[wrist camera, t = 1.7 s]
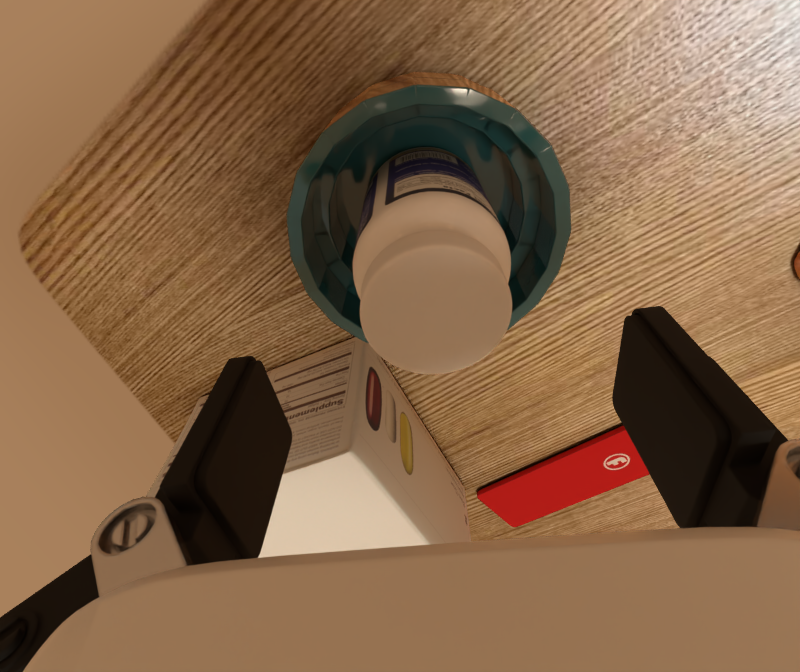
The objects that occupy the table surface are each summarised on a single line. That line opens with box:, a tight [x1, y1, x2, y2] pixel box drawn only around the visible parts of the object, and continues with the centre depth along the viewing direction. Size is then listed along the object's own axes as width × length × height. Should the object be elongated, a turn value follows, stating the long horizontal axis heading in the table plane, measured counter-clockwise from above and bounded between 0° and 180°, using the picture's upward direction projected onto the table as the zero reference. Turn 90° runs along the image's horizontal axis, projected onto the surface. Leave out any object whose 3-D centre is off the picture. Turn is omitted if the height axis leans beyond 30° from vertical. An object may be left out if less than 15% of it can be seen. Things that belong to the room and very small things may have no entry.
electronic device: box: [477, 425, 650, 527], centre depth 33 cm, size 6×1×15 cm
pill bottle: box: [353, 147, 512, 374], centre depth 17 cm, size 6×6×10 cm
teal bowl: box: [286, 72, 571, 343], centre depth 20 cm, size 11×11×5 cm
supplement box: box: [146, 337, 471, 558], centre depth 28 cm, size 17×13×9 cm
